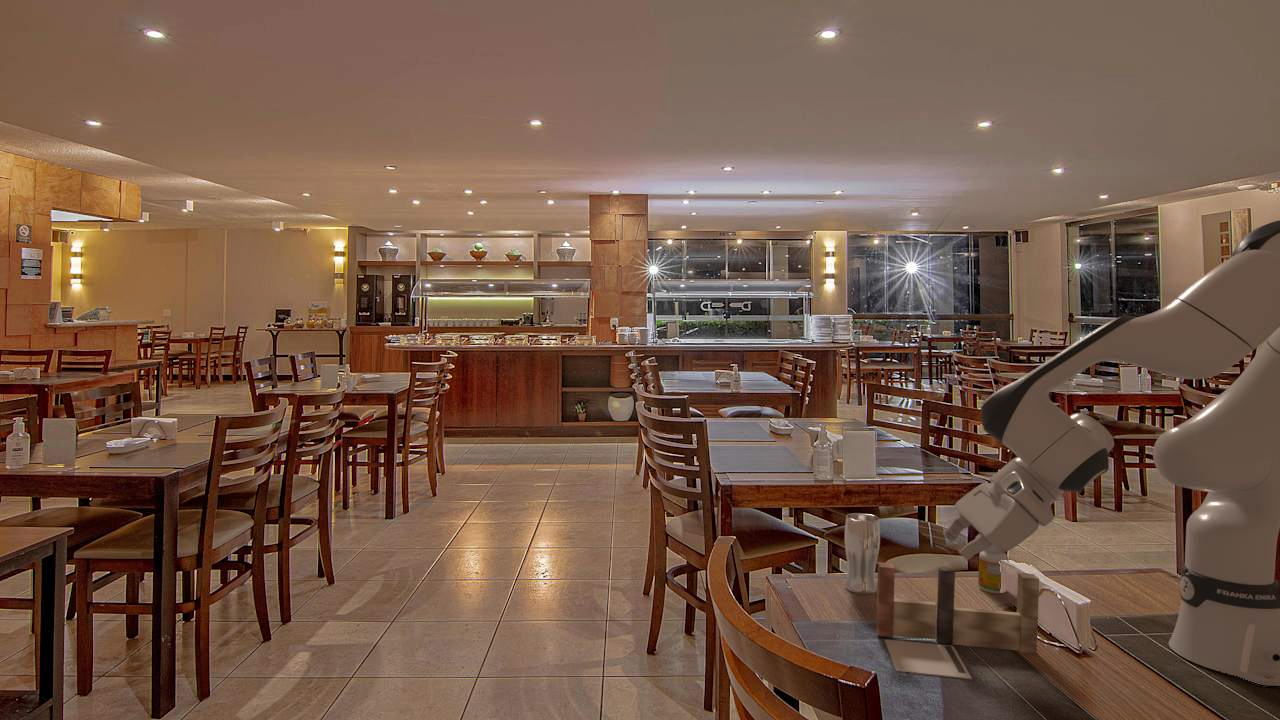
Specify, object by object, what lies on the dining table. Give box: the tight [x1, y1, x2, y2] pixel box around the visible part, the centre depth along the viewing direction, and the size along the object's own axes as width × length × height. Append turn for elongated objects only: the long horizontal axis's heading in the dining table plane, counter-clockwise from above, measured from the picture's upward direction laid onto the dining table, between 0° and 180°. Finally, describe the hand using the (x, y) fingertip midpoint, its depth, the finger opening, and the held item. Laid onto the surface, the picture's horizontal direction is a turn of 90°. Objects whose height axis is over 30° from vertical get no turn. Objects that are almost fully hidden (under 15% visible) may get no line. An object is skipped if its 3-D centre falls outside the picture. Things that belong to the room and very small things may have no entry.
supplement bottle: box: [977, 545, 1009, 594], centre depth 139 cm, size 5×5×10 cm
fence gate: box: [875, 561, 937, 640], centre depth 116 cm, size 9×2×12 cm, turn 79°
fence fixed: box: [935, 566, 1040, 655], centre depth 113 cm, size 15×3×13 cm, turn 79°
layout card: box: [884, 638, 973, 680], centre depth 109 cm, size 11×11×1 cm
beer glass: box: [844, 512, 881, 595], centre depth 138 cm, size 7×7×15 cm
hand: (953, 546), depth 113 cm, fingers open, 8 cm apart
